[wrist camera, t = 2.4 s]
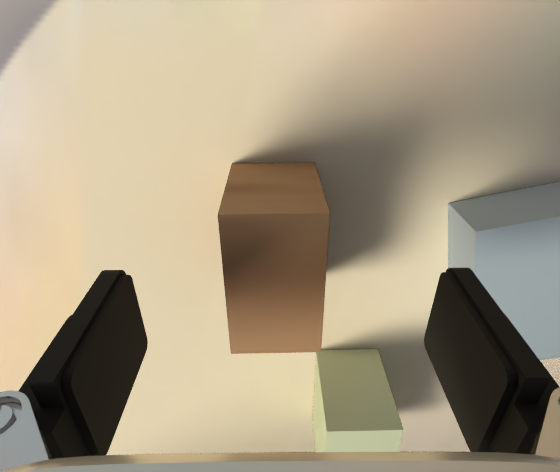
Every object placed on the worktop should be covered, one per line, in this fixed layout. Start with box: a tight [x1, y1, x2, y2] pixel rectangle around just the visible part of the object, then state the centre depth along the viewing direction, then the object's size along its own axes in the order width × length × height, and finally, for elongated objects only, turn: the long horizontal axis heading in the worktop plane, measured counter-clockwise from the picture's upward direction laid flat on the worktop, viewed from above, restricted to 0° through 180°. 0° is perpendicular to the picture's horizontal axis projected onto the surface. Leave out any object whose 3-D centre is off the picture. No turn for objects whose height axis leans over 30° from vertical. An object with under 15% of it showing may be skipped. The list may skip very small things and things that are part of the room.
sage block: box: [312, 349, 403, 452], centre depth 21 cm, size 6×4×5 cm, turn 0°
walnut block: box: [218, 162, 330, 354], centre depth 16 cm, size 6×4×5 cm, turn 0°
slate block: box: [448, 182, 560, 360], centre depth 18 cm, size 8×5×3 cm, turn 12°
